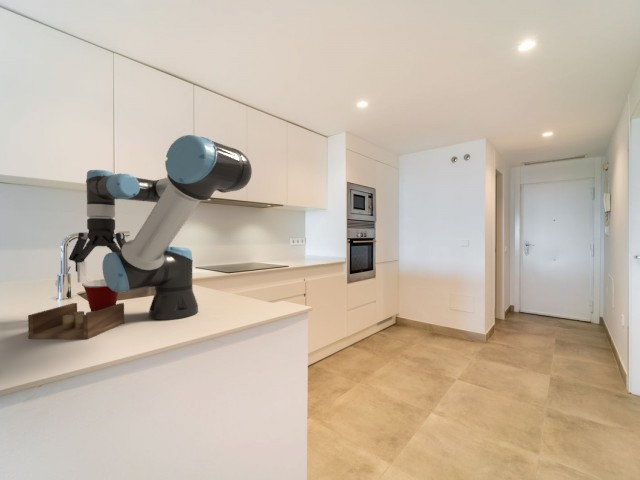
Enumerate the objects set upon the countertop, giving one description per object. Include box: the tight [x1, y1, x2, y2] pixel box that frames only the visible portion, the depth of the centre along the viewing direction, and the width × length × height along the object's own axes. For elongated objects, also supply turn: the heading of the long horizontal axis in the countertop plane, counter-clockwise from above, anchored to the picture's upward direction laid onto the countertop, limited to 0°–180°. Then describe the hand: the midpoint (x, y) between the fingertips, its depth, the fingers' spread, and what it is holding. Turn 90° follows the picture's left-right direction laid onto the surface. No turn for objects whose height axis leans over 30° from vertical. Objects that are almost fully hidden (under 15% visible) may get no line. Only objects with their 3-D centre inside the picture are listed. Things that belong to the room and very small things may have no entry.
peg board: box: [27, 302, 125, 340], centre depth 86 cm, size 16×14×6 cm
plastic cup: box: [81, 278, 119, 312], centre depth 100 cm, size 11×11×12 cm
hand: (102, 282), depth 100 cm, fingers open, 13 cm apart
